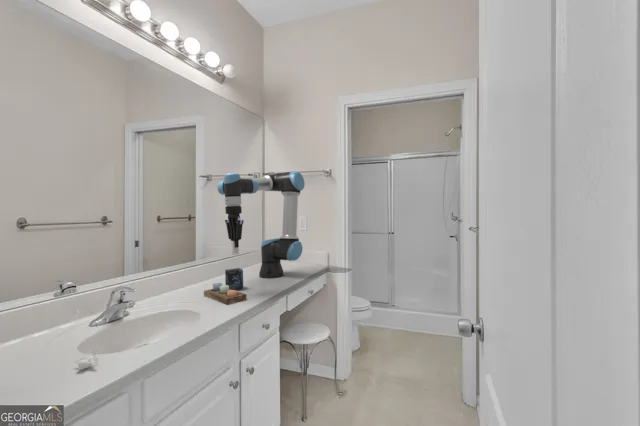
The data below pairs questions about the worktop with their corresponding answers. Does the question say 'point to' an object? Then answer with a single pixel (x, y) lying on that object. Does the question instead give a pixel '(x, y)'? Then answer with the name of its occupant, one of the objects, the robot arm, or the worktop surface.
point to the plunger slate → (216, 287)
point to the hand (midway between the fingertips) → (235, 254)
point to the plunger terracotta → (232, 293)
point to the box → (234, 278)
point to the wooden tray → (224, 296)
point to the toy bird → (87, 361)
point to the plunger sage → (224, 289)
